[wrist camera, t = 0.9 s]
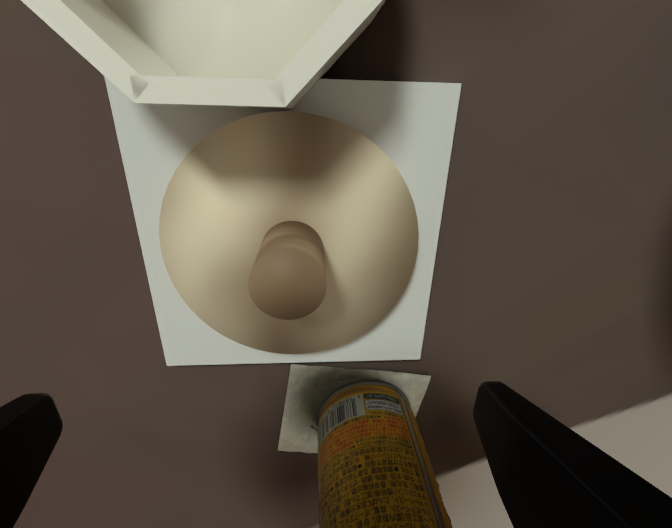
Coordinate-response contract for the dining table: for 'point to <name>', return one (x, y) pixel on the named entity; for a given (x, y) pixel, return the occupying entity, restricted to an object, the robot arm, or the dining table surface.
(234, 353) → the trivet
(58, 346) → the dining table surface
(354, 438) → the condiment
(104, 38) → the bowl
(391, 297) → the lid
